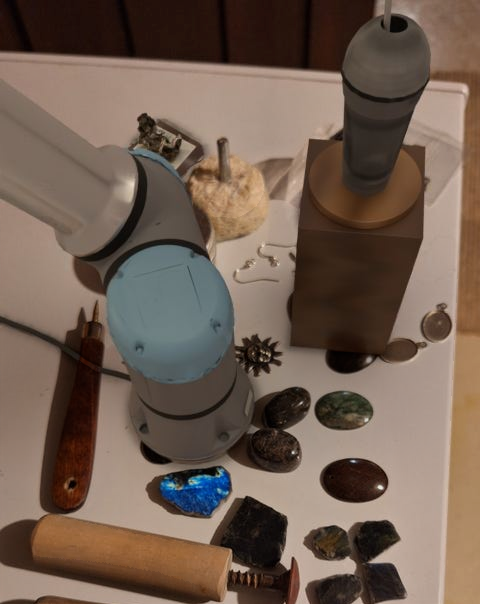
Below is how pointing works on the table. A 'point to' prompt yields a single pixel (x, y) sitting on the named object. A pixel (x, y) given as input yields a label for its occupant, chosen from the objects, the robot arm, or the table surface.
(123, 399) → the table surface
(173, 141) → the figurine on square base
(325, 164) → the cork coaster
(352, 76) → the beverage cup
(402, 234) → the walnut stand
